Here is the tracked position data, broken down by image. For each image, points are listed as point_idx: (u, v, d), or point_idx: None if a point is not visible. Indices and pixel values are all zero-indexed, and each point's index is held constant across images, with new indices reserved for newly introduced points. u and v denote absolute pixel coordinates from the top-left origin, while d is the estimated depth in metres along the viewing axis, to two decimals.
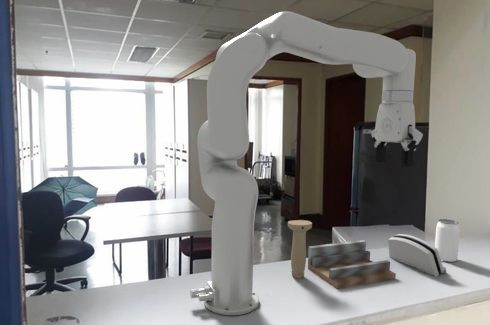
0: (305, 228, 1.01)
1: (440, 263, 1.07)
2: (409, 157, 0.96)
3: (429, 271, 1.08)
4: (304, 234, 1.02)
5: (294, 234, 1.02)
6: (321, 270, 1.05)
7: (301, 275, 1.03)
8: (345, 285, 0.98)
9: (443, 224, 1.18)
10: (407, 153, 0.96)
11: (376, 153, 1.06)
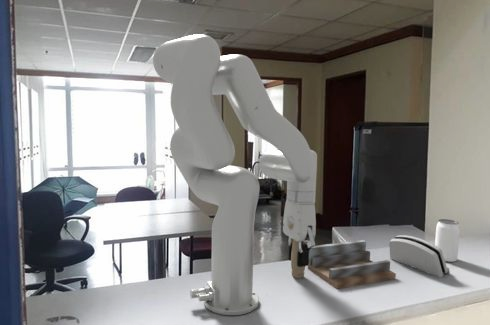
0: None
1: (444, 263, 1.07)
2: (303, 258, 1.01)
3: (433, 272, 1.07)
4: None
5: None
6: (321, 270, 1.05)
7: (301, 275, 1.03)
8: (345, 285, 0.98)
9: (443, 224, 1.18)
10: (302, 255, 1.01)
11: (289, 252, 1.05)
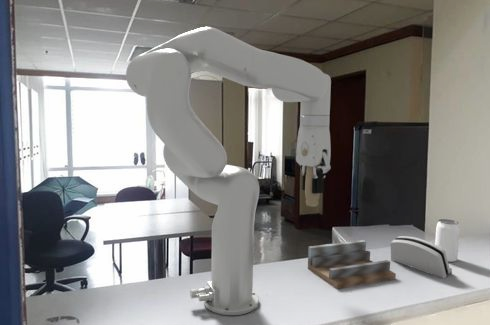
0: None
1: (447, 264, 1.07)
2: (318, 185, 0.99)
3: (437, 273, 1.07)
4: None
5: None
6: (321, 270, 1.05)
7: (316, 203, 1.02)
8: (345, 285, 0.98)
9: (443, 224, 1.18)
10: (316, 181, 0.99)
11: (303, 181, 1.04)
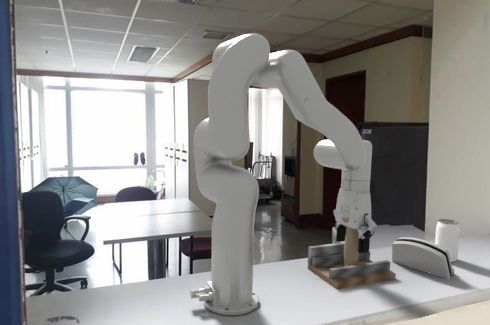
0: None
1: (450, 264, 1.06)
2: (365, 244, 1.01)
3: (441, 274, 1.06)
4: None
5: None
6: (321, 270, 1.05)
7: None
8: (345, 285, 0.98)
9: (443, 224, 1.18)
10: (363, 241, 1.01)
11: (337, 233, 1.10)
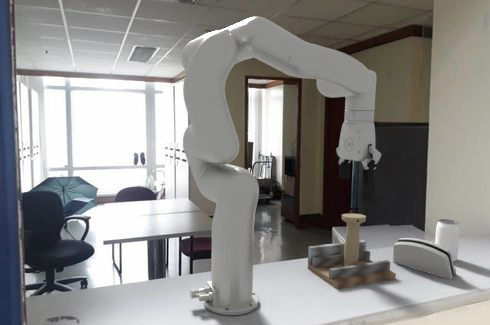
0: (360, 221, 1.03)
1: (453, 265, 1.06)
2: (369, 176, 0.99)
3: (443, 274, 1.06)
4: (358, 227, 1.05)
5: (348, 227, 1.05)
6: (321, 270, 1.05)
7: None
8: (345, 285, 0.98)
9: (443, 224, 1.18)
10: (367, 172, 0.99)
11: (340, 170, 1.08)
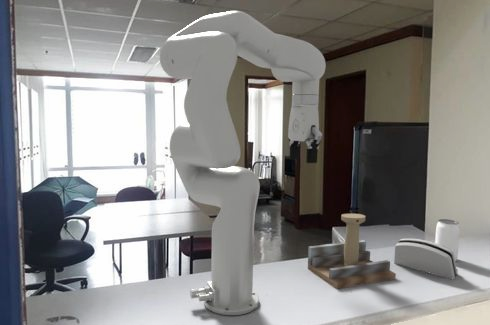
0: (359, 221, 1.03)
1: (455, 265, 1.06)
2: (312, 154, 1.07)
3: (445, 274, 1.06)
4: (358, 227, 1.05)
5: (348, 227, 1.05)
6: (321, 270, 1.05)
7: None
8: (345, 285, 0.98)
9: (443, 224, 1.18)
10: (311, 151, 1.07)
11: (290, 151, 1.16)
